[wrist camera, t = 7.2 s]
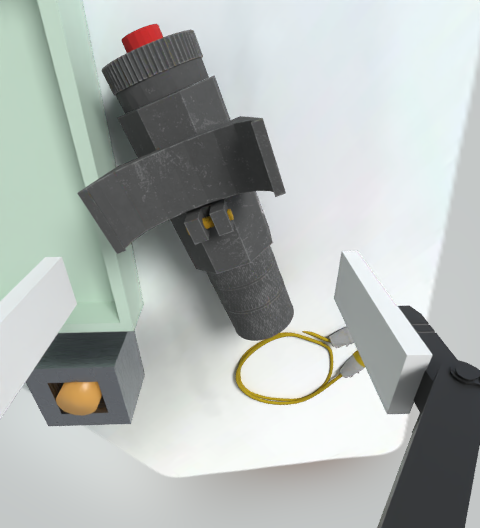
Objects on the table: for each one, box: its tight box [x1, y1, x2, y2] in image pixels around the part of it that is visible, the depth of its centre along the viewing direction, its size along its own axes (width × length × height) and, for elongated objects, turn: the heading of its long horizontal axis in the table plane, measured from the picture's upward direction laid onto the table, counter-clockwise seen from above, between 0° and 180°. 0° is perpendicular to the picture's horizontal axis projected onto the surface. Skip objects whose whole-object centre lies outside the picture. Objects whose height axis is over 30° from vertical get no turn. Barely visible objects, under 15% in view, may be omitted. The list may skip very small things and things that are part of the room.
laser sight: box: [77, 24, 294, 341], centre depth 23 cm, size 10×22×10 cm, turn 20°
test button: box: [56, 382, 102, 415], centre depth 32 cm, size 4×4×5 cm
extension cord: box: [236, 327, 365, 405], centre depth 37 cm, size 12×16×2 cm
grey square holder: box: [26, 331, 145, 426], centre depth 33 cm, size 8×8×6 cm
